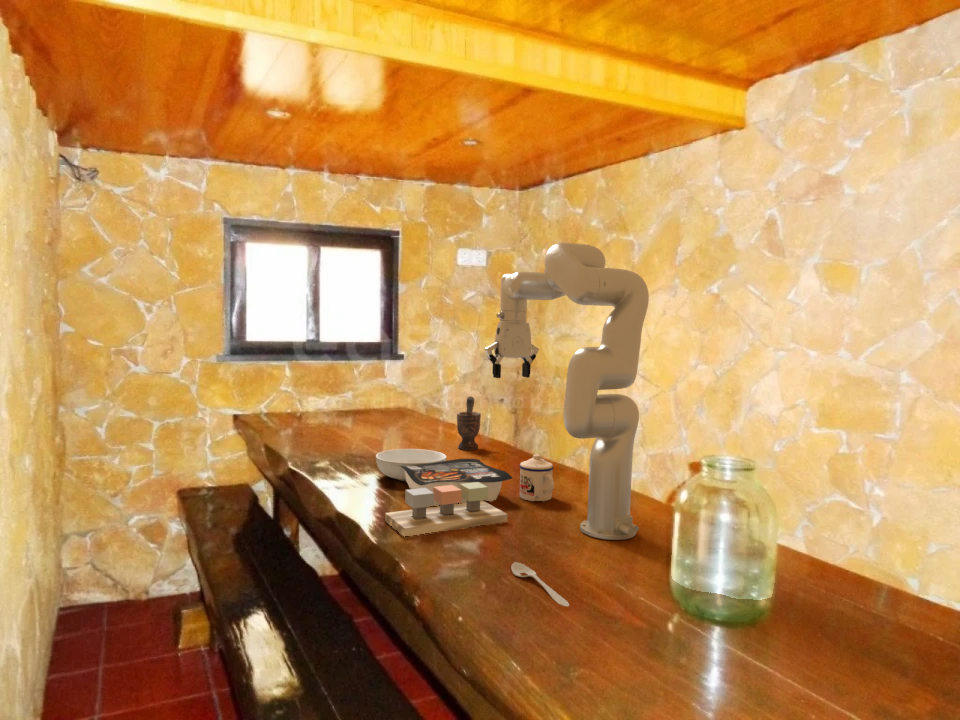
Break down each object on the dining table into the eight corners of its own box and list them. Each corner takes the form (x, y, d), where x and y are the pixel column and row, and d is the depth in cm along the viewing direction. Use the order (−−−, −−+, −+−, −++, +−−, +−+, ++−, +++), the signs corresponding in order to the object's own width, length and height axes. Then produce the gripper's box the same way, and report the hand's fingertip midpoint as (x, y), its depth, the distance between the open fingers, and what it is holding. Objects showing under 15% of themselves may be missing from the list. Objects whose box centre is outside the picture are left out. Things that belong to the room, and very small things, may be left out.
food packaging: (421, 482, 161) (396, 462, 182) (420, 512, 161) (395, 489, 182) (512, 475, 171) (479, 457, 192) (512, 503, 171) (478, 482, 192)
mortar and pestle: (487, 452, 234) (488, 396, 233) (465, 453, 230) (466, 397, 229) (474, 445, 245) (475, 392, 243) (452, 447, 241) (453, 393, 240)
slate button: (433, 518, 149) (434, 493, 149) (413, 520, 147) (413, 495, 147) (424, 511, 154) (425, 487, 153) (404, 514, 152) (405, 489, 151)
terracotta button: (460, 514, 153) (461, 489, 152) (441, 517, 150) (442, 492, 150) (451, 508, 157) (452, 484, 157) (432, 511, 155) (433, 486, 154)
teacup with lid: (512, 495, 178) (513, 453, 178) (539, 491, 183) (540, 450, 182) (537, 506, 168) (539, 462, 167) (565, 502, 173) (567, 459, 172)
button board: (507, 522, 155) (507, 514, 155) (404, 537, 143) (404, 528, 142) (483, 508, 165) (483, 500, 165) (385, 521, 153) (385, 512, 153)
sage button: (487, 510, 156) (487, 486, 156) (468, 513, 154) (469, 489, 153) (477, 505, 160) (478, 481, 160) (459, 507, 158) (459, 483, 158)
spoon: (523, 568, 128) (524, 560, 128) (586, 612, 110) (586, 602, 110) (505, 571, 126) (505, 563, 126) (565, 616, 108) (566, 606, 108)
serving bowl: (455, 484, 189) (456, 460, 188) (384, 489, 181) (384, 464, 181) (433, 467, 208) (434, 446, 208) (368, 472, 201) (369, 449, 200)
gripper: (493, 317, 179) (491, 379, 180) (545, 318, 187) (543, 378, 188) (480, 316, 185) (478, 376, 187) (531, 318, 194) (529, 375, 195)
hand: (511, 377), depth 187 cm, fingers open, 9 cm apart
